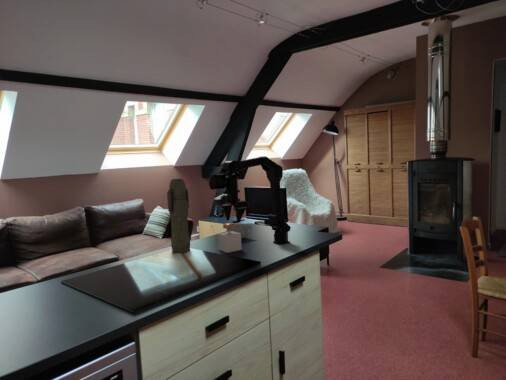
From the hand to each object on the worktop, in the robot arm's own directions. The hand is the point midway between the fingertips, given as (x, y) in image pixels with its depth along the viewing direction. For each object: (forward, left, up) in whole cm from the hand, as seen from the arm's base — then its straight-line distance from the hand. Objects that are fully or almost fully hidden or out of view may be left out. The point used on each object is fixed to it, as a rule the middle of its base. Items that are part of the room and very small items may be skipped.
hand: (233, 221), depth 179 cm
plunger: (-1, -6, -9) cm, 11 cm away
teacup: (-18, -24, -15) cm, 34 cm away
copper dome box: (-1, -6, -15) cm, 16 cm away
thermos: (+18, -20, -15) cm, 31 cm away
